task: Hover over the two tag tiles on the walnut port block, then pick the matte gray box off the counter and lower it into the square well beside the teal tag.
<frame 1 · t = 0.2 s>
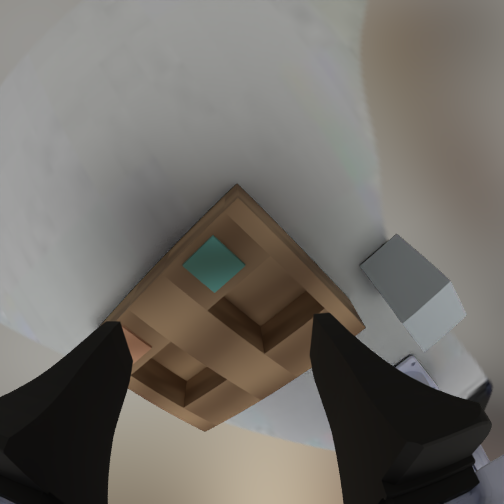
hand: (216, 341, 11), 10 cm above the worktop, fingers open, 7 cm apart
matte gray box: (389, 265, 22), on the worktop
port block: (216, 318, 23), on the worktop
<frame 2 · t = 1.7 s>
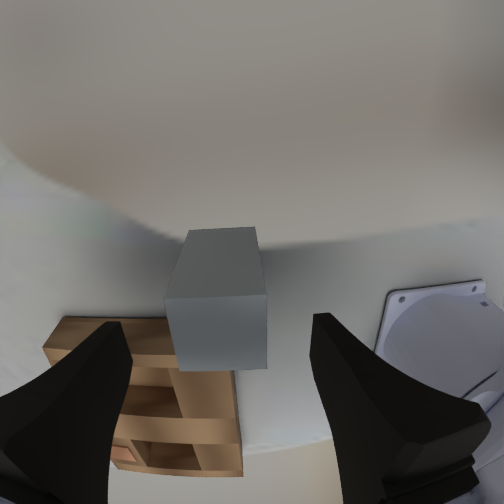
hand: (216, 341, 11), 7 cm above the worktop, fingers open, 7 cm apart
matte gray box: (223, 258, 18), on the worktop
port block: (161, 397, 22), on the worktop
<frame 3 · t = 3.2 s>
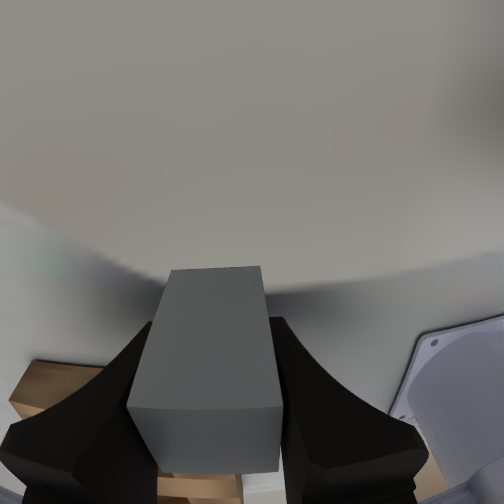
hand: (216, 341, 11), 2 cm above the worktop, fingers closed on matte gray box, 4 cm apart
matte gray box: (218, 305, 13), on the worktop, touching gripper
port block: (151, 445, 18), on the worktop
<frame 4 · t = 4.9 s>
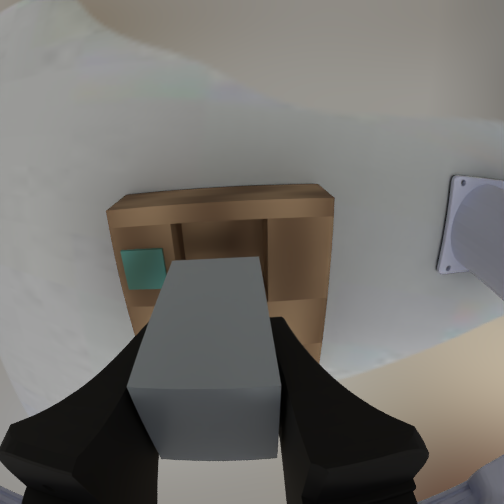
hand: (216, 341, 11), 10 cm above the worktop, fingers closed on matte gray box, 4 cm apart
matte gray box: (218, 296, 14), point 7 cm above the worktop, touching gripper
port block: (228, 300, 22), on the worktop
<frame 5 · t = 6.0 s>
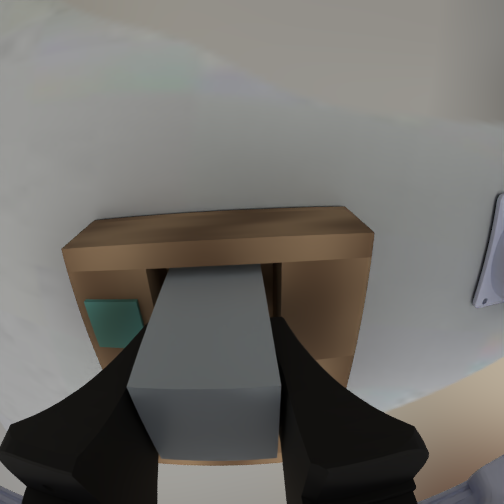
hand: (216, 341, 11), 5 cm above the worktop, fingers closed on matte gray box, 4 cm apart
matte gray box: (218, 296, 14), point 2 cm above the worktop, touching gripper
port block: (227, 348, 17), on the worktop
when the fingers open (4 cm above the worktop, at t = 6.9 s): matte gray box drops 1 cm, resting on port block.
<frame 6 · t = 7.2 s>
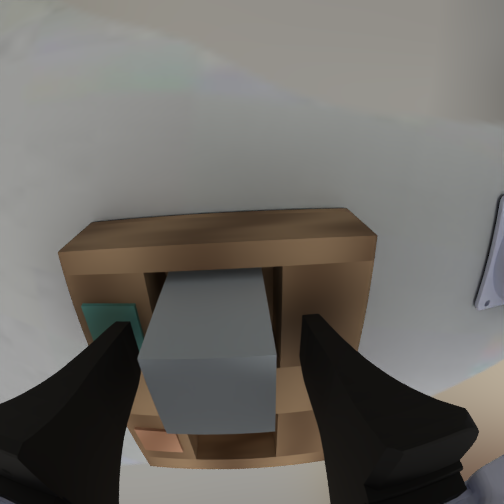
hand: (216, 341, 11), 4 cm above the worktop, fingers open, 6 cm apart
matte gray box: (220, 283, 15), resting on port block
port block: (227, 352, 17), on the worktop
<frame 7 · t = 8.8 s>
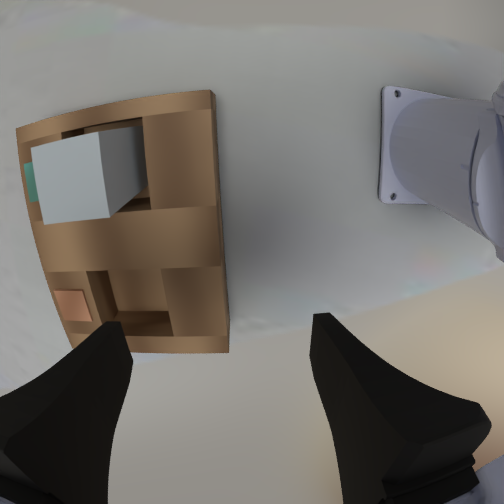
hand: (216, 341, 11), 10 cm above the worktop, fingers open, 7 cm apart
matte gray box: (122, 157, 18), resting on port block
port block: (133, 225, 20), on the worktop
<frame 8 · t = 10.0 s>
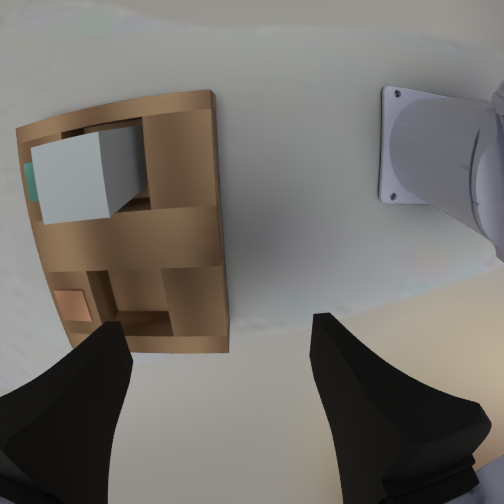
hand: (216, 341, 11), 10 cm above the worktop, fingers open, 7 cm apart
matte gray box: (122, 157, 18), resting on port block
port block: (133, 225, 20), on the worktop
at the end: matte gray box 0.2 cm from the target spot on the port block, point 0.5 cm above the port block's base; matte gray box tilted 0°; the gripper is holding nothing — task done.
